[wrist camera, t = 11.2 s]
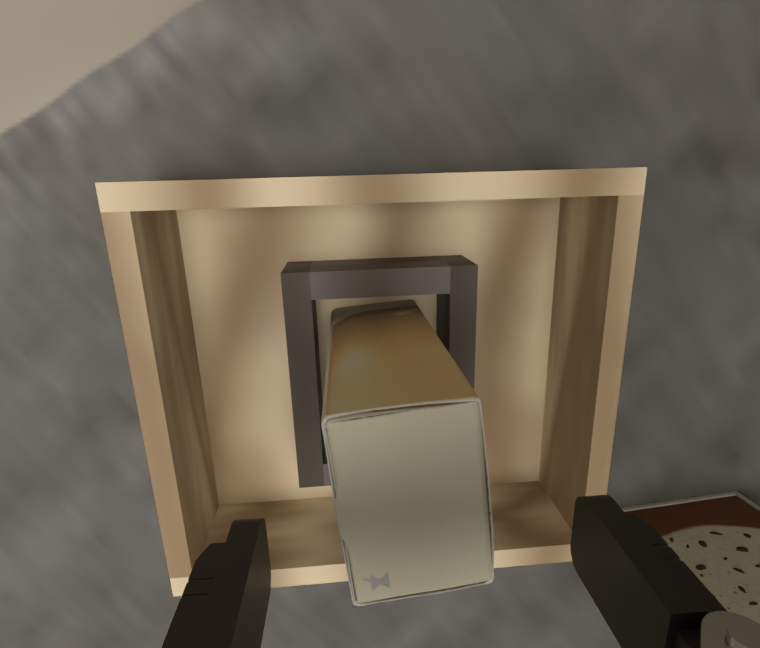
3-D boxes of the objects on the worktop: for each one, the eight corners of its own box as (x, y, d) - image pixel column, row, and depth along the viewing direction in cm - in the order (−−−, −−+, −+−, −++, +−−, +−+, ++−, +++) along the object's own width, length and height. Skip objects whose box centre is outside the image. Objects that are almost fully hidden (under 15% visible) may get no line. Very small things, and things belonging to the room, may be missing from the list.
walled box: (573, 170, 24) (647, 167, 18) (547, 484, 29) (598, 558, 23) (157, 182, 22) (94, 182, 17) (207, 510, 28) (173, 596, 22)
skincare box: (426, 407, 26) (500, 595, 14) (345, 419, 26) (352, 620, 14) (415, 290, 24) (488, 395, 12) (327, 302, 24) (317, 421, 12)
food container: (568, 593, 32) (668, 772, 22) (569, 515, 30) (678, 672, 20) (747, 565, 32) (919, 727, 23) (759, 487, 30) (951, 627, 21)
